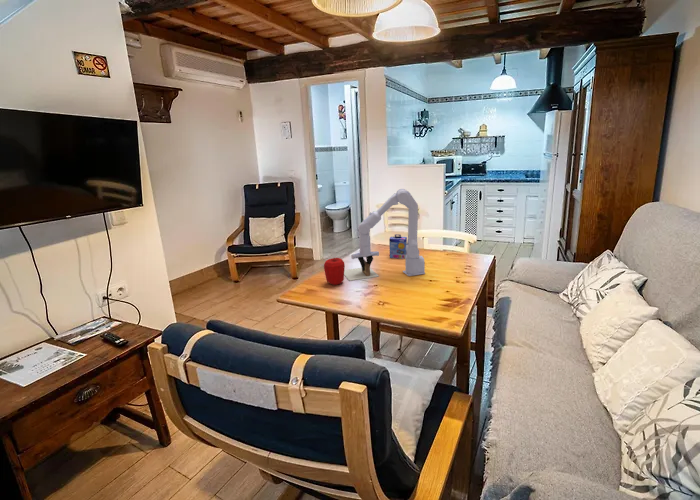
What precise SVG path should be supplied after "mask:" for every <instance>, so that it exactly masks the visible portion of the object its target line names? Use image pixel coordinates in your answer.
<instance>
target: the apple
mask: <svg viewBox="0 0 700 500" xmlns="http://www.w3.org/2000/svg"><path fill="white" fill-rule="evenodd" d="M345 264H346V263H345V261H344V260H343V259H342V258H341V257H333V258H328V259H327V260H325V262H324V263H323V270H324V275H325V280H326V281H327V283H329V284H330V285H333V286H337V285H341V284H342V283H343V281H344V279H345V275H344V270H346V269H345Z"/></svg>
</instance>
